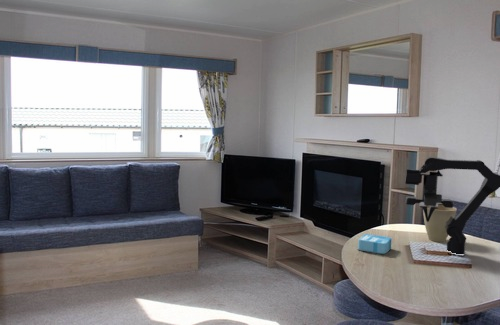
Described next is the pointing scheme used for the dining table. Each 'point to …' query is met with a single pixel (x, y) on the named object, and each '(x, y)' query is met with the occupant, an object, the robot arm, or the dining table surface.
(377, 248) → the data package
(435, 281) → the dining table surface
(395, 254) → the dining table surface
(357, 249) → the gray flat panel
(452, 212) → the plant pot
